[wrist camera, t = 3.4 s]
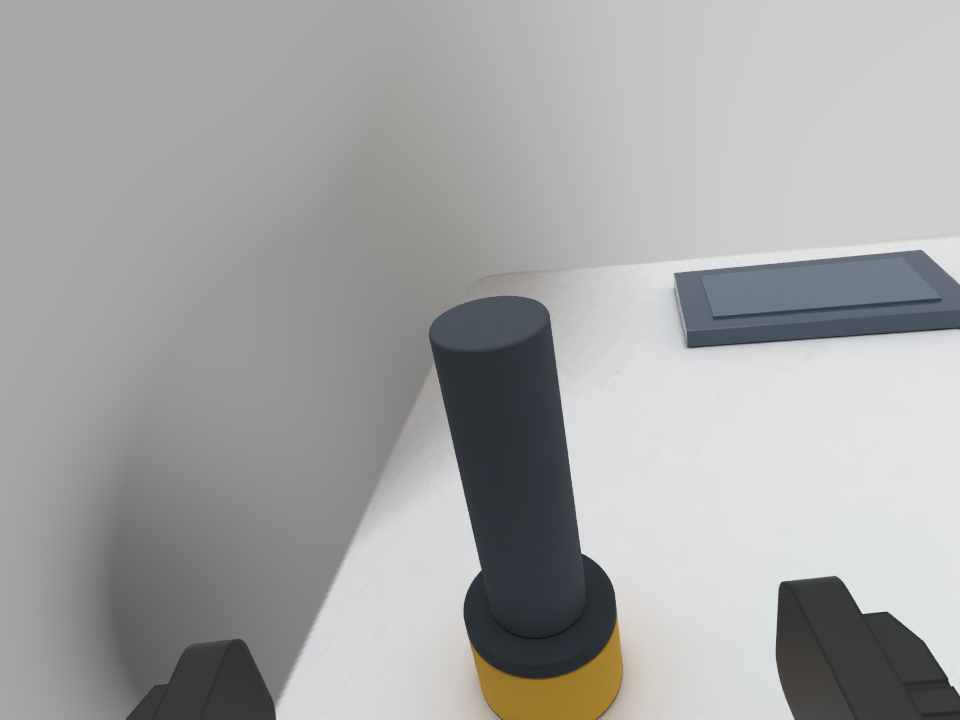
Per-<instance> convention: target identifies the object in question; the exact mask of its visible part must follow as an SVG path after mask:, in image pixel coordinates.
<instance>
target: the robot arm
mask: <svg viewBox="0 0 960 720" xmlns="http://www.w3.org/2000/svg"><path fill="white" fill-rule="evenodd" d="M776 662H777V668H778V673H779V678H780V682H781V685H782V689H783V692H784V695H785V697H786V700H787V702H788V705H789V707H790V710H791V712H792V714H793V717H794V719H795V720H960V696H959V694H958V693H957V691H956V690H955V688H954V687H953V686H950V684H949V681H948V678H947V676H946V674H945V673H944V671H943V670H942V668H941V667H940V665H939V664H938V662H937V661H936V659H935V658H934V656H933V655H932V653H931V652H930V650H929V649H928V647H927V646H926V644H925V643H924V641H923V640H921V639H920V638H919V637H918V636H916V635H915V634H914V633H913V632H912V631H910V630H909V629H908V628H907V627H906V626H904V625H903V624H902V623H901V622H899V621H898V620H897V619H896V618H895V617H893V616H892V615H891V614H890V613H888V612H878V613H869V614H862V613H861V611H860V609H859V608H858V606H857V604H856V602H855V601H854V599H853V597H852V596H851V594H850V592H849V591H848V589H847V587H846V586H845V584H844V583H843V582H842V580H841V579H839V578H838V577H836V576H831V577H821V578H812V579H803V580H794V581H785V582H781V584H780V586H779V594H778V614H777V634H776ZM126 720H276V714H275V707H274V703H273V700H272V698H271V695H270V693H269V691H268V689H267V687H266V685H265V683H264V681H263V679H262V676H261V674H260V672H259V670H258V668H257V666H256V664H255V662H254V659H253V657H252V655H251V653H250V651H249V649H248V647H247V645H246V643H245V642H244V641H242V640H241V639H234V640H224V641H216V642H206V643H197V644H191V645H190V646H188V647H187V648H186V649H185V650H184V652H183V653H182V655H181V657H180V659H179V661H178V664H177V666H176V668H175V670H174V672H173V675H172V677H171V679H170V681H169V683H168V684H165V685H156V686H154V687H153V688H152V689H151V691H150V692H149V693H148V694H147V695H146V696H145V698H144V699H143V700H142V701H141V702H140V703H139V704H138V706H137V707H136V708H135V709H134V710H133V712H132V713H131V714H130V715H129V716H128V717H127V718H126Z"/></svg>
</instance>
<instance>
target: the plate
mask: <svg viewBox="0 0 960 720" xmlns="http://www.w3.org/2000/svg"><path fill="white" fill-rule="evenodd" d="M674 287H675V292H676V297H677V302H678V306H679V311H680V316H681V320H682V325H683V330H684V335H685V339H686V344H687V347H695V346H709V345H723V344H737V343H751V342H764V341H778V340H792V339H806V338H820V337H834V336H848V335H862V334H876V333H890V332H904V331H918V330H932V329H946V328H960V285H959V284H958V283H957V282H956V281H955V280H954V279H953V278H952V277H951V276H950V275H949V274H947V273H946V272H945V271H944V270H943V269H942V268H941V267H940V266H939V265H938V264H937V263H935V262H934V261H933V260H932V259H931V258H930V257H929V256H928V255H927V254H926V253H925V252H923V251H922V250H916V251H905V252H894V253H884V254H873V255H862V256H852V257H841V258H830V259H820V260H809V261H798V262H788V263H777V264H766V265H756V266H745V267H734V268H724V269H713V270H702V271H692V272H681V273H674Z"/></svg>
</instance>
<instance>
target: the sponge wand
mask: <svg viewBox="0 0 960 720" xmlns="http://www.w3.org/2000/svg"><path fill="white" fill-rule="evenodd" d="M429 338H430V343H431V347H432V352H433V356H434V360H435V365H436V369H437V374H438V378H439V383H440V387H441V392H442V396H443V400H444V405H445V409H446V414H447V418H448V423H449V427H450V431H451V436H452V440H453V445H454V449H455V454H456V458H457V463H458V467H459V471H460V476H461V480H462V485H463V489H464V494H465V498H466V502H467V507H468V511H469V516H470V520H471V525H472V529H473V534H474V538H475V542H476V547H477V551H478V556H479V560H480V565H481V569H482V571H481V572H480V573H479V574H478V575H477V576H476V577H475V579H474V580H473V582H472V583H471V585H470V587H469V589H468V592H467V594H466V598H465V601H464V620H465V625H466V629H467V633H468V636H469V641H470V645H471V649H472V653H473V656H474V660H475V664H476V668H477V672H478V676H479V680H480V684H481V688H482V691H483V694H484V697H485V699H486V700H487V702H488V704H489V705H490V707H491V708H492V709H493V711H494V712H495V713H496V714H497V715H498V716H499V717H500V718H502V719H503V720H595V719H597V718H598V717H599V716H601V715H602V714H603V713H604V712H605V711H606V710H607V709H608V707H609V706H610V704H611V703H612V702H613V700H614V698H615V697H616V695H617V693H618V690H619V687H620V685H621V680H622V671H623V666H622V657H621V648H620V638H619V629H618V619H617V610H616V600H615V592H614V589H613V585H612V583H611V581H610V579H609V577H608V576H607V574H606V573H605V571H604V570H603V569H602V568H601V567H600V566H599V565H598V564H597V563H596V562H594V561H593V560H592V559H590V558H589V557H587V556H586V555H584V554H581V549H580V541H579V534H578V526H577V519H576V511H575V504H574V496H573V488H572V481H571V473H570V466H569V458H568V451H567V443H566V436H565V428H564V420H563V413H562V405H561V398H560V390H559V383H558V375H557V368H556V360H555V353H554V345H553V337H552V330H551V322H550V315H549V312H548V310H547V309H546V307H545V306H544V305H543V304H541V303H540V302H538V301H536V300H533V299H530V298H525V297H518V296H496V297H488V298H482V299H478V300H474V301H470V302H467V303H464V304H461V305H459V306H456V307H454V308H452V309H450V310H448V311H446V312H445V313H443V314H442V315H440V316H439V317H438V318H437V319H436V320H435V321H434V322H433V323H432V325H431V327H430V330H429Z"/></svg>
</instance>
